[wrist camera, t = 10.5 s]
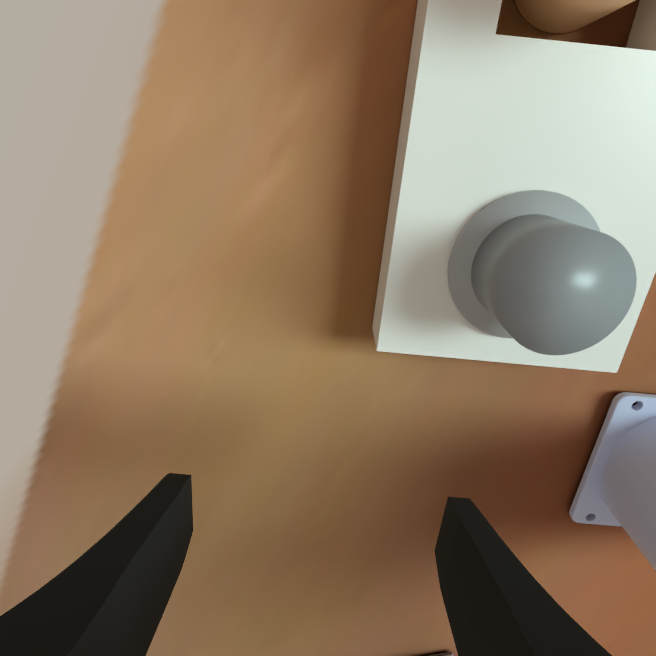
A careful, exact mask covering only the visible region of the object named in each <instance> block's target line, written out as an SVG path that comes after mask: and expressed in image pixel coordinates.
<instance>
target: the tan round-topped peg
mask: <svg viewBox="0 0 656 656" xmlns="http://www.w3.org/2000/svg"><path fill="white" fill-rule="evenodd" d="M514 1H515V4H516V6H517V8H518V10H519V12H520V13H521V15H522V16H523V17H524V18H525V19H526V20H527V22H529V23H530V24H531V25H532V26H534V27H536V28H537V29H539V30H542V31H545V32H549V33H568V32H571V31H575V30H577V29H580V28H582V27H584V26H586V25H588V24H590V23H592V22H594V21H596V20H598V19H600V18H602V17H604V16H606V15H608V14H610V13H612V12H614V11H616V10H618V9H620V8H621V7H623V6H625V5H627V4H629V3H631V2H633V1H635V0H514Z"/></svg>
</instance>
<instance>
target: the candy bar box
mask: <svg viewBox="0 0 656 656" xmlns="http://www.w3.org/2000/svg"><path fill="white" fill-rule="evenodd" d="M429 656H454V654H453V653H441V654H436V655H429Z"/></svg>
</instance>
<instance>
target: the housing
mask: <svg viewBox="0 0 656 656" xmlns="http://www.w3.org/2000/svg"><path fill="white" fill-rule="evenodd" d="M501 4H502V0H418V3H417V10H416V17H415V24H414V32H413V39H412V46H411V53H410V60H409V67H408V75H407V82H406V89H405V96H404V103H403V110H402V118H401V125H400V132H399V139H398V146H397V153H396V161H395V168H394V175H393V182H392V189H391V196H390V204H389V211H388V218H387V225H386V232H385V239H384V247H383V254H382V261H381V268H380V275H379V282H378V290H377V297H376V304H375V311H374V318H373V325H372V330H373V335H374V340H375V345H376V350H377V351H382V352H393V353H404V354H415V355H426V356H437V357H448V358H459V359H470V360H481V361H492V362H504V363H515V364H526V365H537V366H548V367H559V368H570V369H581V370H592V371H603V372H614V373H617V371H618V369H619V366H620V363H621V361H622V358H623V356H624V353H625V350H626V348H627V345H628V342H629V340H630V337H631V335H632V332H633V329H634V327H635V324H636V322H637V319H638V316H639V314H640V311H641V309H642V306H643V303H644V301H645V298H646V296H647V293H648V290H649V288H650V285H651V283H652V280H653V277H654V275H655V272H656V0H640V1H639V4H638V7H637V11H636V14H635V18H634V21H633V24H632V28H631V31H630V34H629V38H628V41H627V44H626V48H623V47H613V46H604V45H594V44H584V43H575V42H565V41H555V40H546V39H536V38H527V37H517V36H507V35H498V34H496V29H497V24H498V19H499V14H500V9H501Z"/></svg>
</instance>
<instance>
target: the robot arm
mask: <svg viewBox="0 0 656 656" xmlns="http://www.w3.org/2000/svg"><path fill="white" fill-rule="evenodd" d="M636 401H638V402H637V403H636V405H634V406H632V405H633V403H635V402H636ZM569 515H570V517H571V518H572V520H573V521H574V522H577V523H585V524H597V525H609V526H620V527H623V529H624V530H625V531H626V533H627V534H628V535H629V537H630V538H631V539H632V541H633V542H634V543H635V545H636V546H637V547H638V549H639V550H640V551H641V552H642V554H643V555H644V556H645V558H646V559H647V560H648V562H649V563H650V564H651V566H652V567H653V568H654V570H655V571H656V395H652V394H641V393H630V392H622V393H620V394H618V395H616V396H615V397H614V399H613V400H612V403H611V405H610V408H609V410H608V413H607V416H606V418H605V421H604V423H603V426H602V428H601V431H600V434H599V436H598V439H597V441H596V444H595V446H594V449H593V451H592V454H591V457H590V459H589V462H588V464H587V467H586V469H585V472H584V475H583V477H582V480H581V482H580V485H579V487H578V490H577V493H576V495H575V498H574V500H573V503H572V505H571V508H570V511H569ZM192 532H193V516H192V486H191V475H185V474H173V473H169V474H167V475H166V476H165V477H164V478H163V479H162V480H161V481H160V482H159V483H158V484H157V485H156V486H155V487H154V488H153V489H152V490H151V491H150V492H149V493H148V494H147V495H146V496H145V497H144V498H143V499H142V500H141V501H140V502H139V503H138V504H137V505H136V506H135V507H134V508H133V509H132V510H131V511H130V512H129V513H128V514H127V515H126V516H125V517H124V518H123V519H122V520H121V521H120V522H119V523H118V524H117V525H116V526H115V527H113V528H112V529H111V530H110V531H109V532H108V533H107V534H106V535H105V536H104V537H103V538H101V539H100V540H99V541H98V542H97V543H96V544H94V545H93V546H92V547H91V548H90V549H89V550H88V551H86V552H85V553H84V554H83V555H82V556H81V557H79V558H78V559H77V560H76V561H75V562H73V563H72V564H71V565H70V566H68V567H67V568H66V569H65V570H64V571H62V572H61V573H60V574H58V575H57V576H56V577H55V578H53V579H52V580H51V581H49V582H48V583H47V584H45V585H44V586H43V587H41V588H40V589H39V590H37V591H36V592H35V593H33V594H32V595H30V596H29V597H28V598H26V599H25V600H23V601H22V602H20V603H19V604H18V605H16V606H15V607H13V608H12V609H10V610H9V611H7V612H6V613H4V614H3V615H2V616H0V656H146V653H147V651H148V648H149V646H150V644H151V641H152V639H153V636H154V634H155V632H156V629H157V627H158V625H159V622H160V620H161V617H162V615H163V613H164V610H165V608H166V605H167V603H168V601H169V598H170V596H171V593H172V591H173V589H174V586H175V584H176V581H177V579H178V577H179V574H180V572H181V569H182V566H183V563H184V560H185V556H186V553H187V550H188V546H189V543H190V539H191V536H192ZM435 555H436V562H437V569H438V576H439V582H440V588H441V592H442V596H443V600H444V604H445V608H446V611H447V615H448V619H449V623H450V626H451V630H452V634H453V637H454V641H455V645H456V649H457V652H458V656H612V655H611V654H609V653H608V652H607V651H606V650H605V649H604V648H603V647H602V646H601V645H600V644H598V643H597V642H596V641H595V640H594V639H593V638H592V637H591V636H590V635H589V634H588V633H587V632H586V631H585V630H584V629H583V628H582V627H581V626H580V625H579V624H578V623H576V622H575V621H574V620H573V619H572V618H571V617H570V616H569V615H568V614H567V613H566V612H565V611H564V610H563V609H562V608H561V607H560V606H559V605H558V604H557V602H556V601H555V600H554V599H553V598H552V597H551V596H550V595H549V594H548V593H547V592H546V591H545V589H544V588H543V587H542V586H541V585H540V584H539V583H538V582H537V581H536V580H535V579H534V577H533V576H532V575H531V574H530V573H529V572H528V570H527V569H526V568H525V567H524V566H523V565H522V563H521V562H520V561H519V560H518V559H517V557H516V556H515V555H514V554H513V553H512V551H511V550H510V549H509V548H508V546H507V545H506V544H505V543H504V542H503V540H502V539H501V538H500V536H499V535H498V534H497V533H496V531H495V530H494V529H493V528H492V526H491V525H490V524H489V522H488V521H487V520H486V519H485V517H484V516H483V515H482V514H481V512H480V511H479V510H478V508H477V507H476V506H475V505H474V503H473V502H472V501H471V500H470V499H468V498H456V497H448V500H447V504H446V508H445V512H444V516H443V520H442V524H441V528H440V532H439V536H438V540H437V544H436V548H435Z"/></svg>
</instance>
